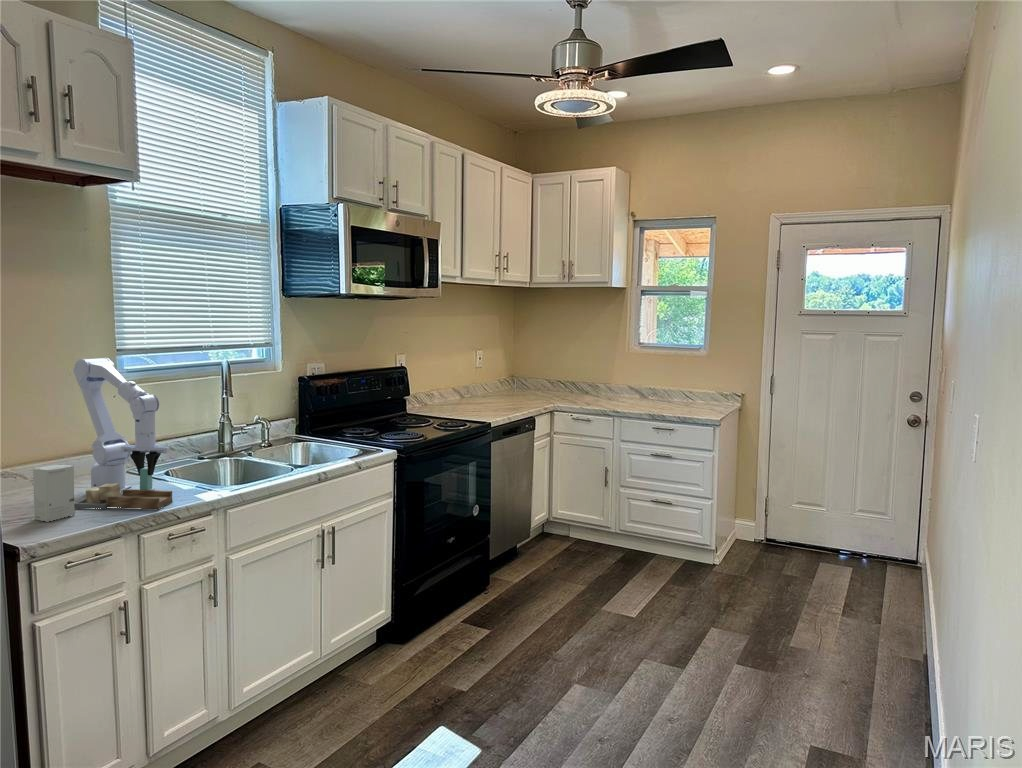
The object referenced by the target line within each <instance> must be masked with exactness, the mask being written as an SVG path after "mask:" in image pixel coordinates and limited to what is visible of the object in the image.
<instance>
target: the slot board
mask: <svg viewBox="0 0 1022 768" xmlns="http://www.w3.org/2000/svg"><path fill="white" fill-rule="evenodd" d="M121 492H122V493H121V494H122V495H121V496H108V507H117V508H118V507H119V508H120V507H121V508H141V509H140V510H144V509H159V508H160V509H162V508H164V507H166V506H168V505H169V504H170V503H173V491H172V490H156V489H155V490H140V489H130V488H127V489H124V490H122V491H121ZM167 504H168V505H167ZM165 505H166V506H165ZM163 506H164V507H163ZM161 507H162V508H161ZM160 509H159V510H160Z"/></svg>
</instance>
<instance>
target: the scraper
mask: <svg viewBox="0 0 1022 768" xmlns="http://www.w3.org/2000/svg"><path fill="white" fill-rule="evenodd" d="M139 490H156V489H155V488H154V487H153V474H152V475H148V466H147V467H146V466H144V468H141V469H140V475H139Z"/></svg>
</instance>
